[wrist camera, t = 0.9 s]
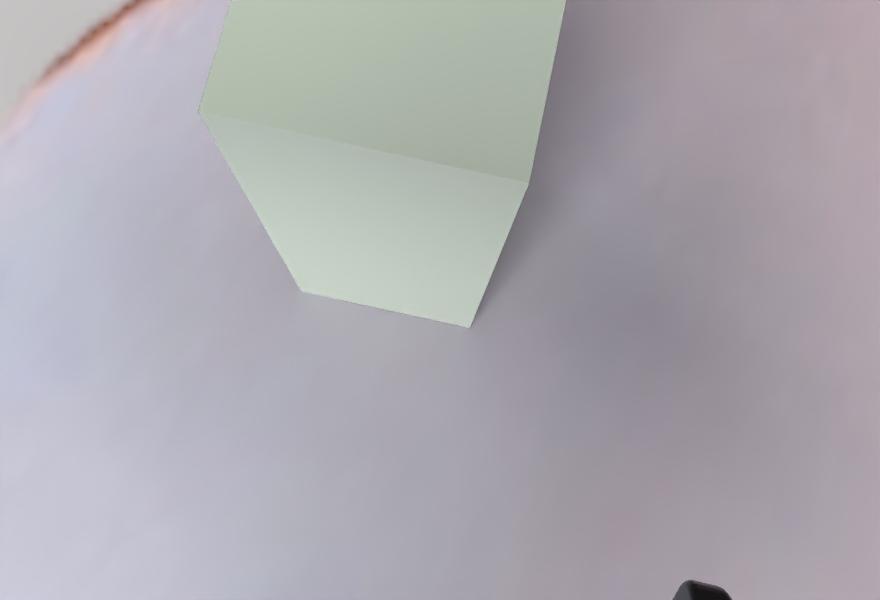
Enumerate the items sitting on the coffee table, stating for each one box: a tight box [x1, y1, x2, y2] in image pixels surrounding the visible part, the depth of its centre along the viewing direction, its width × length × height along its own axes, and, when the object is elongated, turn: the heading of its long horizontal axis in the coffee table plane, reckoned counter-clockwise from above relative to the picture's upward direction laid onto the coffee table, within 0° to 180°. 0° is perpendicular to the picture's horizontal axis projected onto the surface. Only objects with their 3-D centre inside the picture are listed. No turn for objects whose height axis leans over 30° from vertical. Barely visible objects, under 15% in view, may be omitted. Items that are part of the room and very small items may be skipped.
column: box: [198, 0, 566, 328], centre depth 19 cm, size 5×5×12 cm
